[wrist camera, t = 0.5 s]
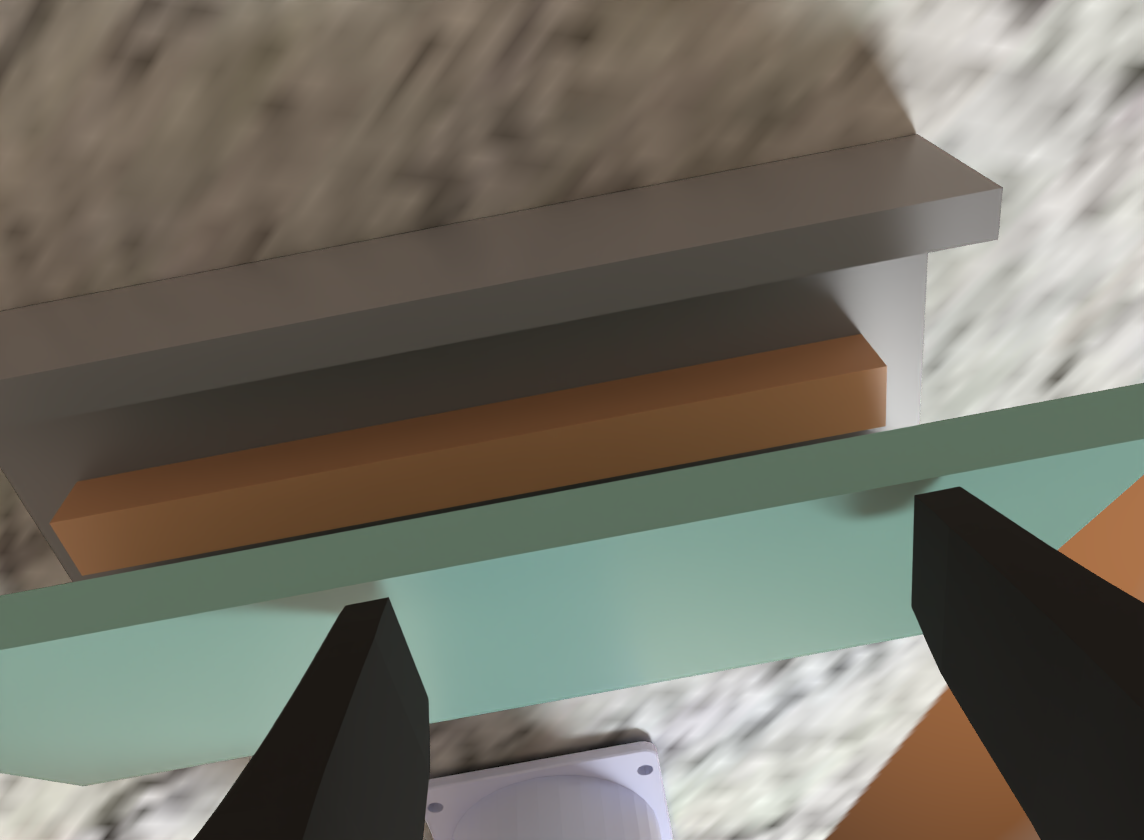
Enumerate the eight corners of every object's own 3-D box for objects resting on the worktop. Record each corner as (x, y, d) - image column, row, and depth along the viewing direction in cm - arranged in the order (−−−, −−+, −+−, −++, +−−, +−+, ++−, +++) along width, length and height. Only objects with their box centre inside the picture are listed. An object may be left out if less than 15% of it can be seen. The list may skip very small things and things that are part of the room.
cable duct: (902, 511, 25) (964, 607, 22) (140, 652, 26) (90, 765, 22) (917, 134, 19) (1002, 187, 16) (-62, 323, 20) (-168, 411, 17)
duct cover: (958, 593, 22) (970, 626, 21) (87, 751, 22) (83, 786, 22) (1167, 378, 12) (1195, 428, 12) (-338, 659, 13) (-357, 715, 12)
